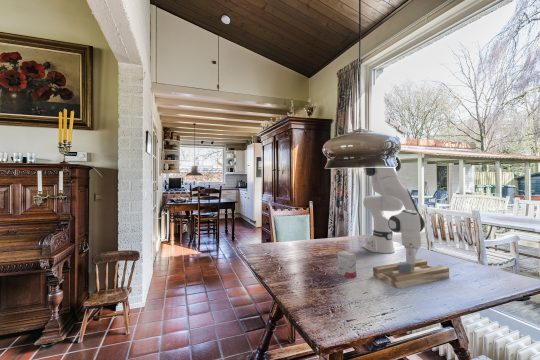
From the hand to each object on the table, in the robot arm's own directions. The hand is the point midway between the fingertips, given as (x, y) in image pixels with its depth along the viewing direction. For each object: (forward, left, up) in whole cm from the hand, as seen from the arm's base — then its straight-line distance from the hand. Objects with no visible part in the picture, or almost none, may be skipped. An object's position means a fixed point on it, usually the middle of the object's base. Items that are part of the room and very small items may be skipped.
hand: (412, 269), depth 130 cm
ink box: (-16, -28, -5) cm, 33 cm away
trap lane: (-1, 0, -5) cm, 5 cm away
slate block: (-2, -3, -1) cm, 4 cm away
